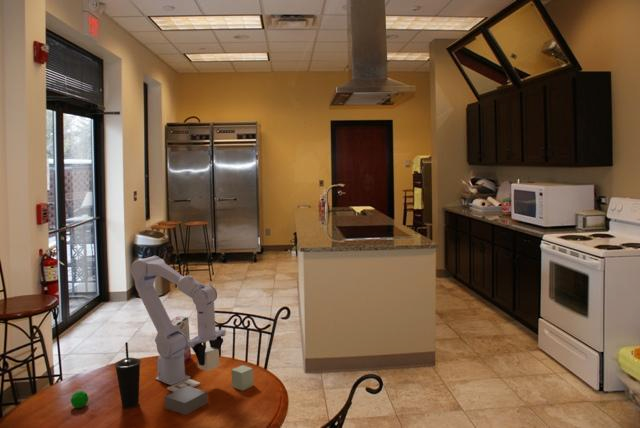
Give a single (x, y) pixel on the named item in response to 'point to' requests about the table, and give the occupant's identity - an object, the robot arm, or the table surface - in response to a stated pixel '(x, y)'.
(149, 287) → the robot arm
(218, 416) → the table surface
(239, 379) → the sage block
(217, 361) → the cream block
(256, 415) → the table surface
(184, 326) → the candy bar box
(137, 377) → the drinking cup
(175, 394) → the gray block
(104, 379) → the table surface
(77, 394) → the green ball
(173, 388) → the tile
